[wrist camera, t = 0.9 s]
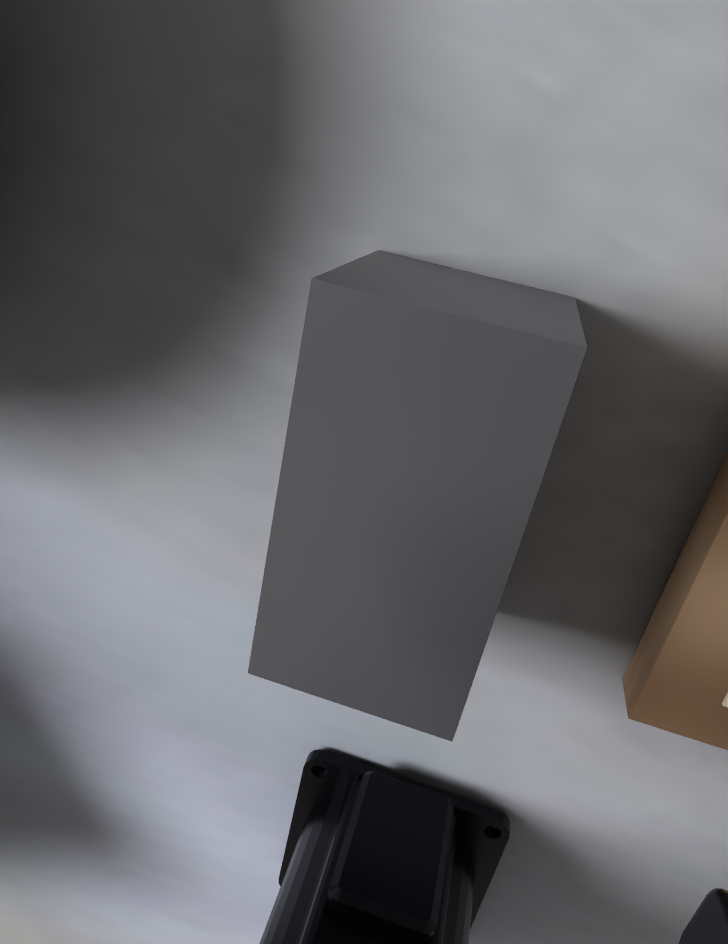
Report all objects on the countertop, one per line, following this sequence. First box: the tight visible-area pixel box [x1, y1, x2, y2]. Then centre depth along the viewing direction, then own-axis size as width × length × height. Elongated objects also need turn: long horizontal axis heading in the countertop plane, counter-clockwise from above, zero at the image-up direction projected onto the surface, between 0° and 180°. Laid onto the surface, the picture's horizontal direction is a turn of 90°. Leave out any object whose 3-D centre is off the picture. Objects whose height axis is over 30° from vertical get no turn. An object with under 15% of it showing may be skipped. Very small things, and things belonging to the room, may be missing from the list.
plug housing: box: [248, 251, 588, 741], centre depth 15 cm, size 8×4×5 cm, turn 168°
